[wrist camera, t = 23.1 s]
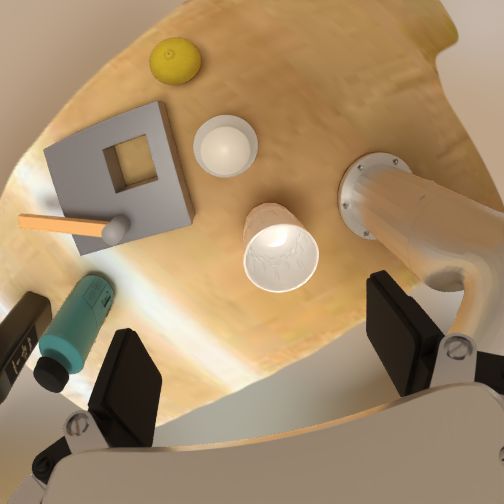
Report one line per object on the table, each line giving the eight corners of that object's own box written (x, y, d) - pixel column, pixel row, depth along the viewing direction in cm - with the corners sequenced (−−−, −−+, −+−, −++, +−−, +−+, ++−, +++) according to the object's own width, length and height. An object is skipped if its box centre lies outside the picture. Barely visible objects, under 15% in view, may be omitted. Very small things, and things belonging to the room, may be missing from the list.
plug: (247, 110, 33) (254, 106, 24) (258, 162, 36) (270, 178, 27) (192, 123, 33) (179, 124, 24) (205, 175, 36) (198, 195, 27)
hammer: (30, 223, 32) (15, 233, 29) (28, 206, 31) (13, 215, 28) (130, 233, 34) (120, 246, 31) (130, 215, 33) (120, 226, 30)
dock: (164, 102, 32) (157, 100, 28) (195, 214, 38) (191, 225, 35) (58, 145, 32) (43, 149, 28) (91, 243, 38) (80, 255, 35)
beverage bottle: (74, 274, 40) (11, 362, 22) (107, 263, 40) (47, 359, 22) (93, 308, 43) (45, 402, 25) (125, 300, 43) (83, 401, 25)
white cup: (240, 254, 41) (244, 294, 32) (238, 198, 38) (242, 225, 29) (296, 252, 42) (315, 290, 33) (299, 197, 38) (321, 222, 29)
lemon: (212, 72, 31) (208, 59, 23) (172, 96, 32) (158, 90, 24) (189, 39, 28) (179, 19, 21) (150, 63, 29) (131, 50, 22)
